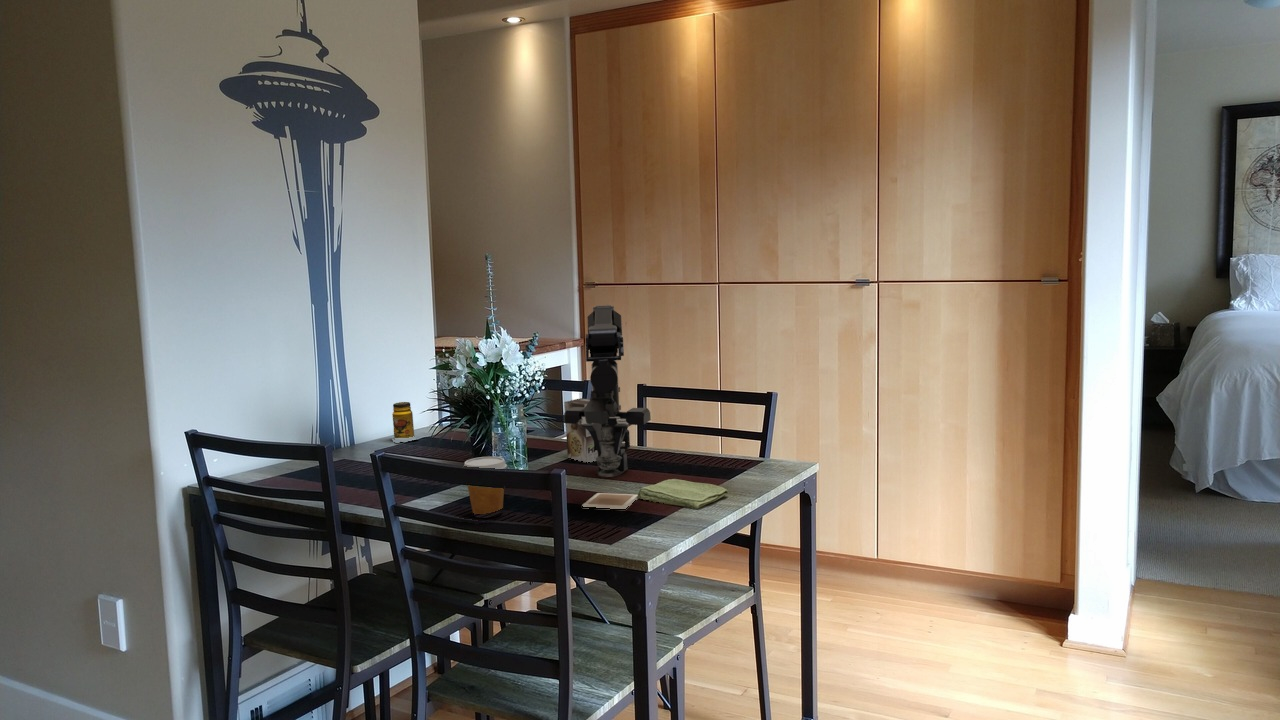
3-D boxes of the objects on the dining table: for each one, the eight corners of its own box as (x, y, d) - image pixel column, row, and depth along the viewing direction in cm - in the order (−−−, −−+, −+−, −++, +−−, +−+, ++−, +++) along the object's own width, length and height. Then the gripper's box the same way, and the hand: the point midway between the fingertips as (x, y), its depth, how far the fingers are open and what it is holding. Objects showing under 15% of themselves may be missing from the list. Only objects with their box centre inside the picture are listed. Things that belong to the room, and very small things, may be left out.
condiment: (395, 444, 278) (392, 405, 277) (390, 439, 286) (387, 402, 285) (419, 441, 282) (416, 403, 280) (413, 436, 289) (410, 399, 288)
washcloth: (699, 512, 195) (698, 498, 194) (634, 501, 206) (634, 487, 205) (732, 498, 205) (731, 484, 205) (668, 488, 216) (668, 475, 215)
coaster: (582, 508, 200) (582, 504, 200) (597, 495, 210) (597, 492, 210) (625, 510, 197) (625, 506, 197) (638, 497, 207) (638, 494, 207)
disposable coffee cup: (513, 507, 203) (510, 455, 202) (505, 520, 194) (502, 465, 192) (471, 509, 203) (467, 456, 202) (461, 522, 194) (457, 467, 192)
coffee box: (605, 459, 246) (603, 400, 245) (587, 463, 242) (584, 404, 240) (584, 454, 253) (581, 397, 251) (566, 458, 249) (563, 400, 247)
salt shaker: (619, 477, 199) (616, 423, 198) (593, 476, 201) (590, 423, 199) (625, 470, 205) (622, 418, 204) (599, 470, 206) (597, 418, 205)
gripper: (552, 390, 196) (556, 461, 198) (634, 391, 190) (637, 463, 192) (571, 382, 206) (574, 449, 208) (649, 382, 200) (652, 451, 202)
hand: (608, 453), depth 202 cm, fingers closed on salt shaker, 3 cm apart
